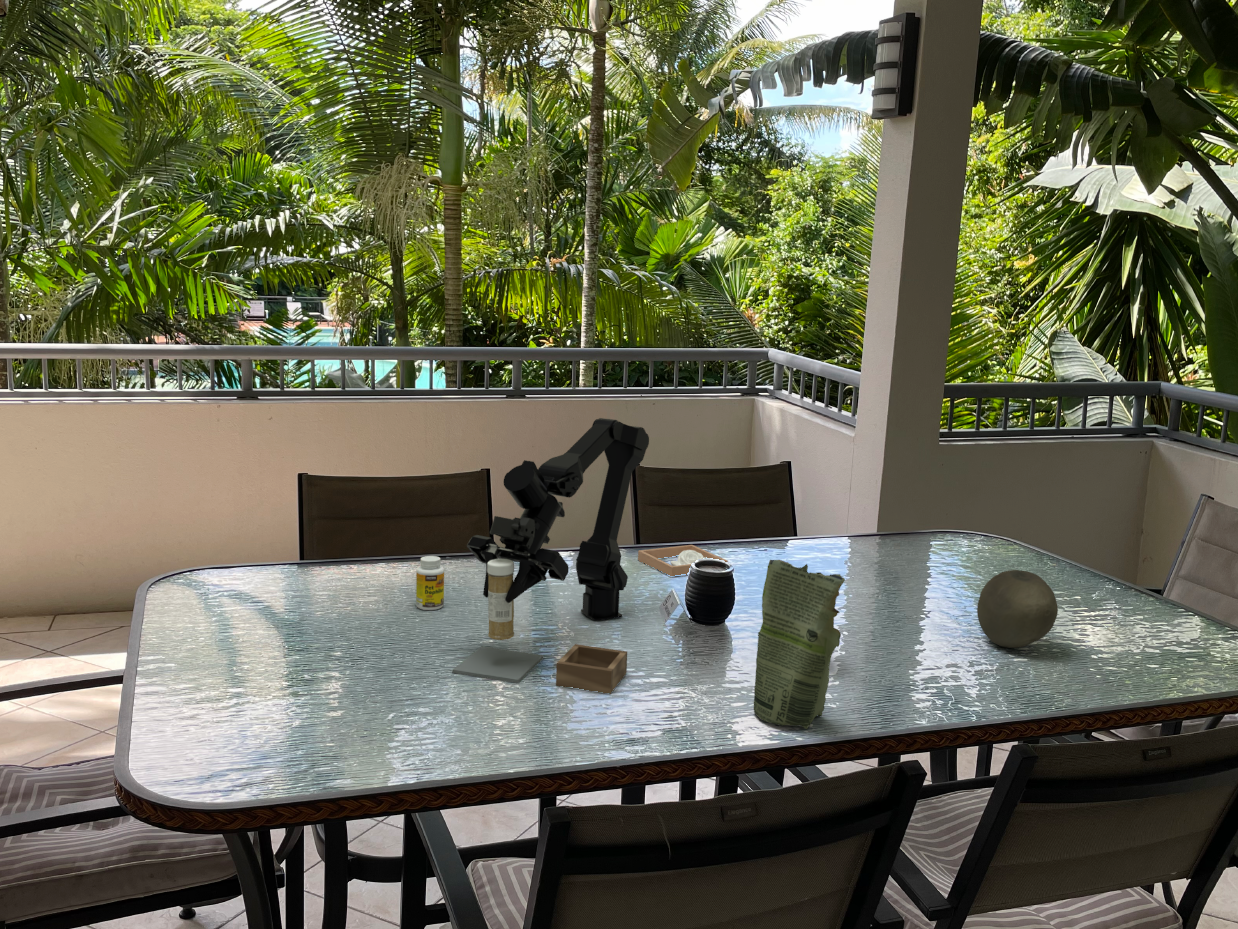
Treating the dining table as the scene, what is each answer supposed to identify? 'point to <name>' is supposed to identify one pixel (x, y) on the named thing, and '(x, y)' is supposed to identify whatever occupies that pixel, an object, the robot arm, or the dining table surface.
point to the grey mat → (498, 664)
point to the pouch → (795, 644)
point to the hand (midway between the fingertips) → (495, 599)
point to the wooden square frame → (652, 556)
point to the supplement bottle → (430, 584)
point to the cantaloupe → (1016, 608)
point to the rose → (687, 558)
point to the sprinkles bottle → (500, 599)
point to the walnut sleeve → (591, 668)
